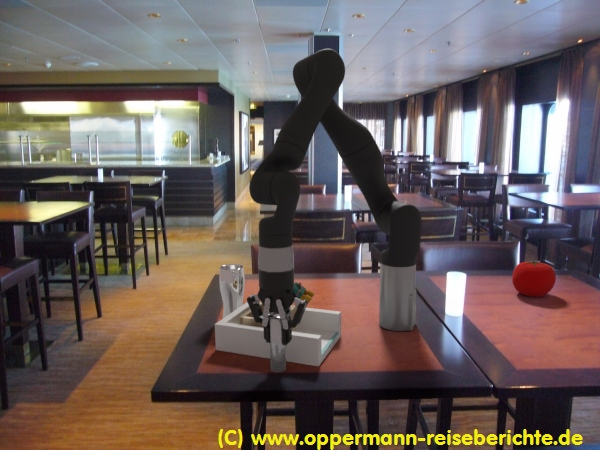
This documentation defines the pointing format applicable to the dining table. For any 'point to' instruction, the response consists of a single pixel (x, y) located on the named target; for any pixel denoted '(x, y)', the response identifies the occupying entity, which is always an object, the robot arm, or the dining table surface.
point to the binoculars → (303, 292)
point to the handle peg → (277, 344)
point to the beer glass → (231, 287)
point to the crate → (249, 320)
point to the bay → (301, 349)
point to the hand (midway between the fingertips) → (277, 342)
